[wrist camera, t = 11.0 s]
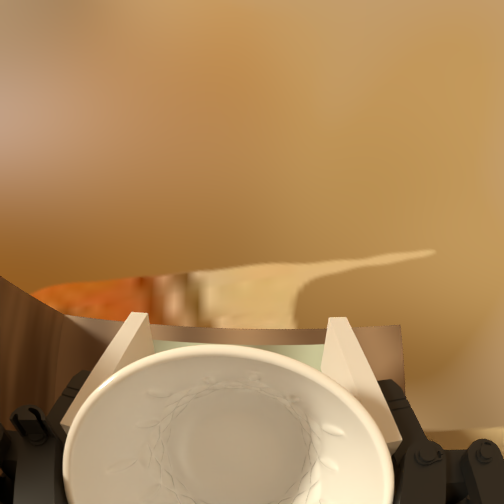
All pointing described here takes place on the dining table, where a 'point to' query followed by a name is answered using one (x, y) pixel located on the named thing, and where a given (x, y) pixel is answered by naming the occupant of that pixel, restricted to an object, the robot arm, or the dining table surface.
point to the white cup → (224, 434)
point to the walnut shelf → (164, 338)
